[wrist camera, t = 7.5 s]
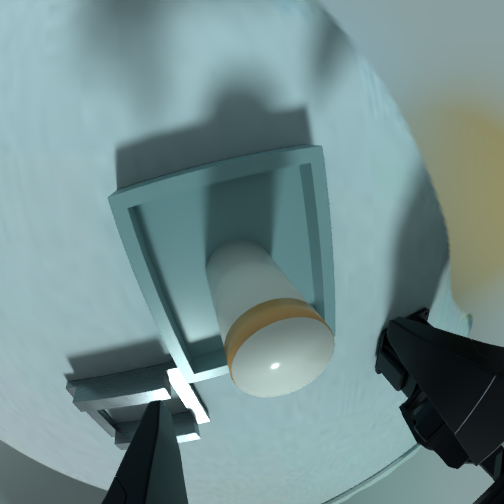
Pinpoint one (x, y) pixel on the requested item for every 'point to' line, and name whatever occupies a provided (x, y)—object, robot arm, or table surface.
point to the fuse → (265, 322)
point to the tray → (220, 231)
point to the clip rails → (138, 400)
